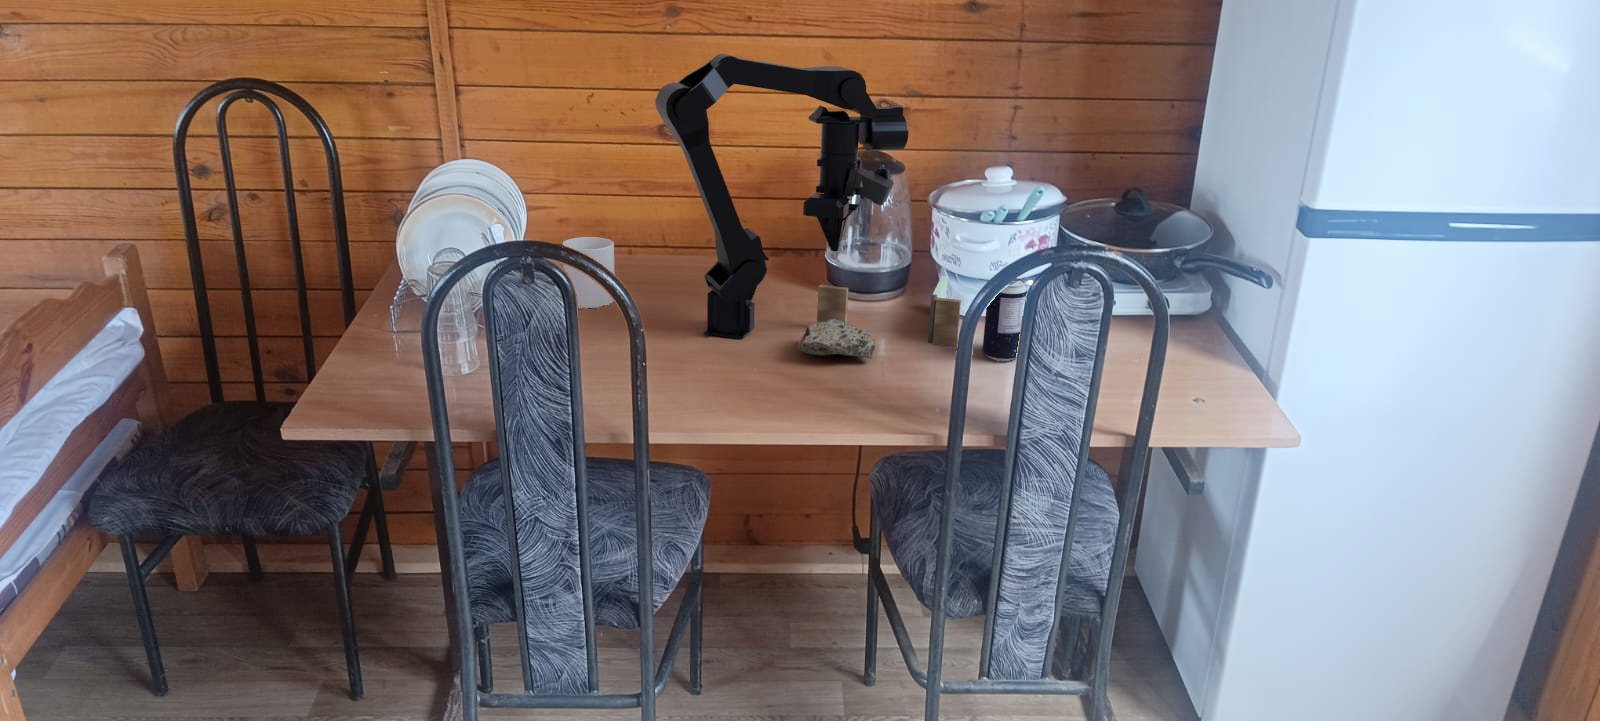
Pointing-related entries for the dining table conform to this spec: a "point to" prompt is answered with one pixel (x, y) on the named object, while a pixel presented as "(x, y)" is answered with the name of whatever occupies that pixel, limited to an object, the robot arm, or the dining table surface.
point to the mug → (584, 285)
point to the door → (941, 287)
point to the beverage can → (1004, 323)
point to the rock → (836, 340)
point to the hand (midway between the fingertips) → (834, 250)
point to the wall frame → (941, 313)
